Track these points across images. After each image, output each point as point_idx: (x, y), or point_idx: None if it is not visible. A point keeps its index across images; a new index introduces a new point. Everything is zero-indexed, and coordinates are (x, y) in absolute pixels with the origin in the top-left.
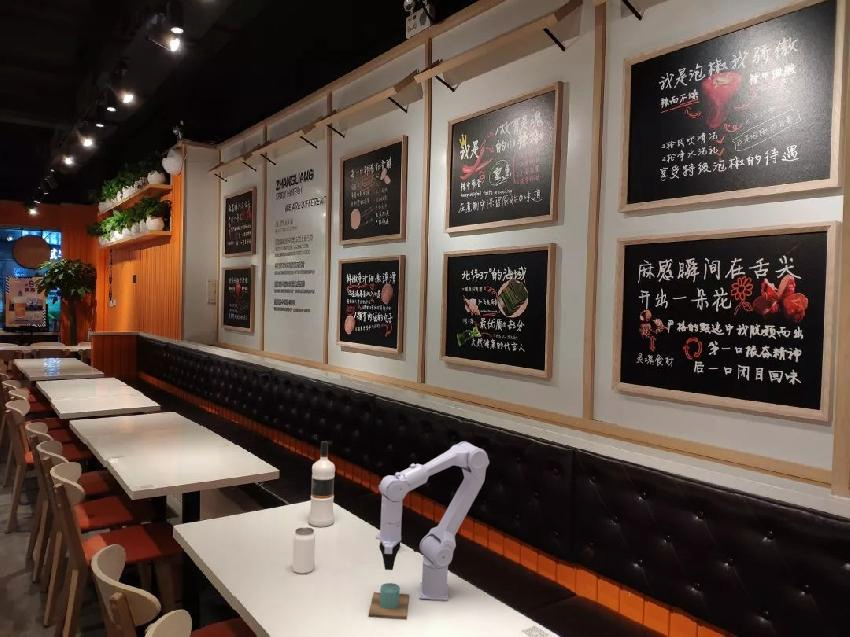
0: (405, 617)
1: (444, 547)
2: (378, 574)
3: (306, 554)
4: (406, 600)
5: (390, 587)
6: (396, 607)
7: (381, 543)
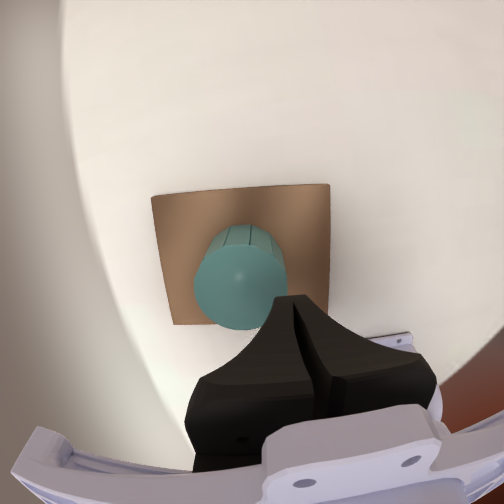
0: (173, 320)
1: None
2: (469, 186)
3: None
4: None
5: (243, 292)
6: None
7: (308, 412)
